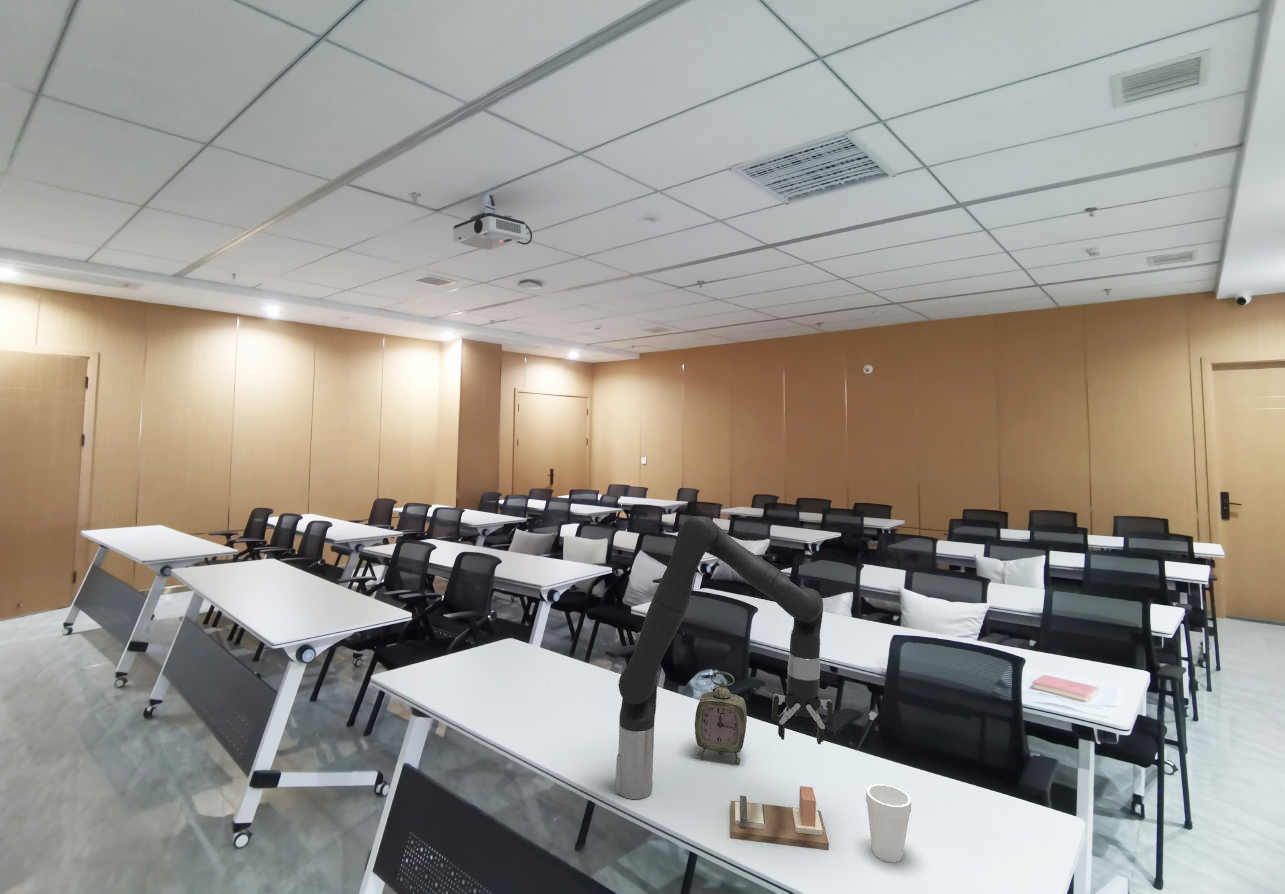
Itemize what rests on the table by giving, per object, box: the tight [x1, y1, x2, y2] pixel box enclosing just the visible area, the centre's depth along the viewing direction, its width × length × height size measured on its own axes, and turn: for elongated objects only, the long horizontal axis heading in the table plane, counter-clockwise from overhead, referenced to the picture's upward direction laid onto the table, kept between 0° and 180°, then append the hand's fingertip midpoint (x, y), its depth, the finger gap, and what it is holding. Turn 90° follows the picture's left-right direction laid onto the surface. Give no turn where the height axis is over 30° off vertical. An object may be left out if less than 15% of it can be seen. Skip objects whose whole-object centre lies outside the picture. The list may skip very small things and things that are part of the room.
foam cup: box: [865, 783, 912, 863], centre depth 138 cm, size 10×9×13 cm
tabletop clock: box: [694, 671, 748, 765], centre depth 180 cm, size 14×9×25 cm, turn 76°
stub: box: [792, 785, 823, 835], centre depth 145 cm, size 6×8×7 cm
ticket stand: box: [730, 795, 830, 851], centre depth 146 cm, size 22×13×4 cm, turn 82°
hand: (800, 740), depth 147 cm, fingers open, 8 cm apart
